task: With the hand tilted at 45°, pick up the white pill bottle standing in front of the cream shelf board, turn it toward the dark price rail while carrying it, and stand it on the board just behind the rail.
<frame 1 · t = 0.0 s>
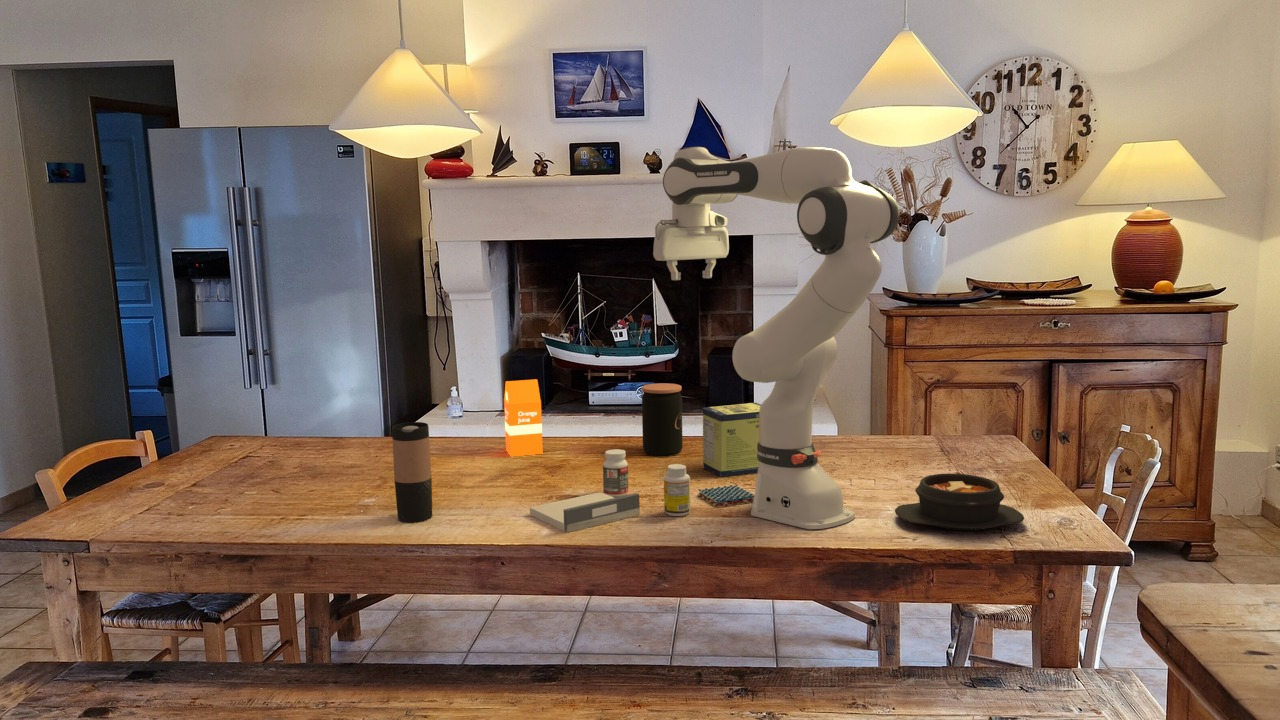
hand: (691, 279, 217), 48 cm above the table, tool pointing down, fingers open, 8 cm apart
orange juice: (524, 453, 253), on the table
coffee jar: (662, 453, 250), on the table
travel mug: (415, 518, 198), on the table
shelf: (584, 514, 198), on the table
woven mat: (727, 501, 207), on the table
supplement bottle: (677, 513, 198), on the table
casserole: (958, 523, 188), on the table
pill bottle: (616, 494, 213), on the table
protein box: (739, 470, 232), on the table
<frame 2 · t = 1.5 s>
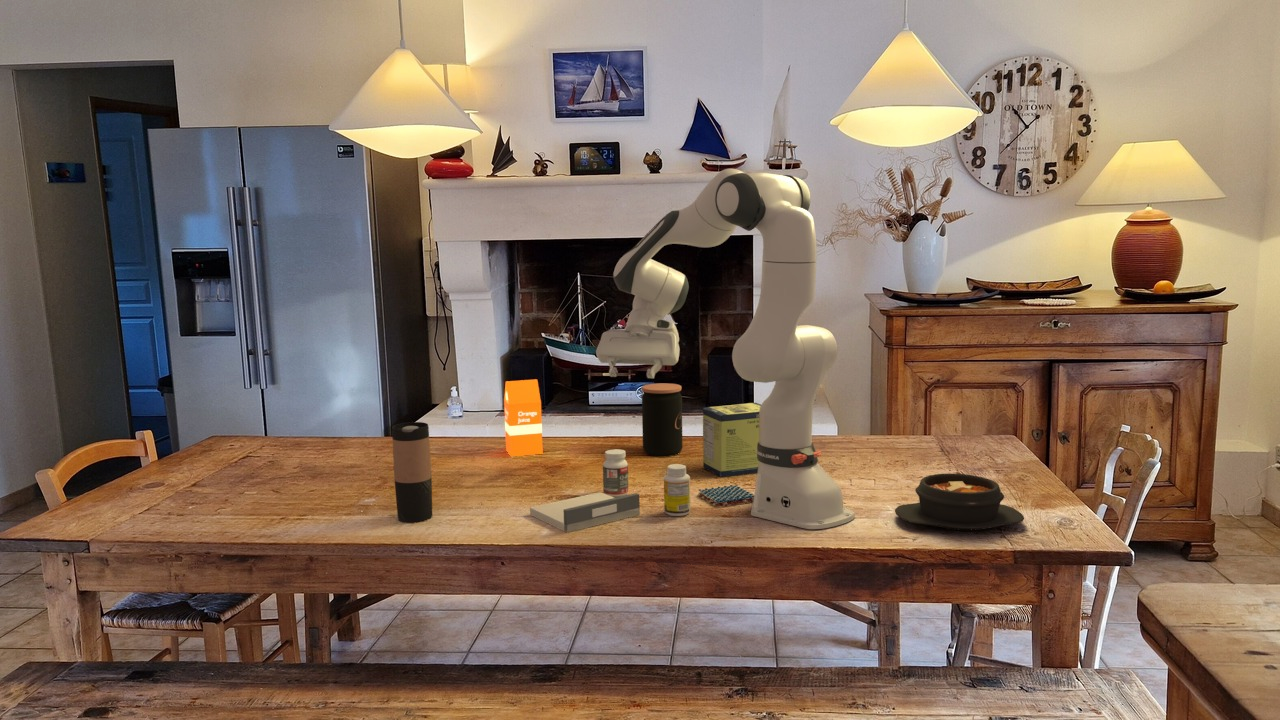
hand: (631, 376, 220), 25 cm above the table, tool tilted 45°, fingers open, 8 cm apart
nothing on the table moved.
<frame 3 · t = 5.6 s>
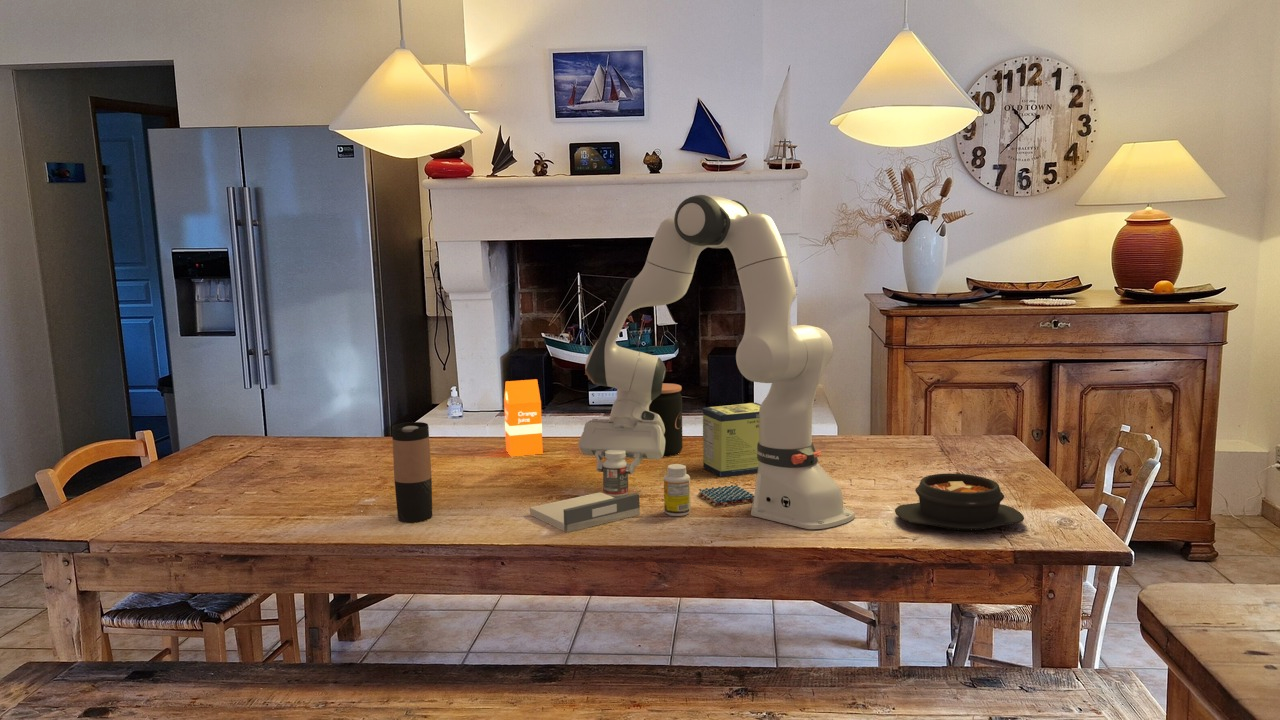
hand: (614, 471, 211), 5 cm above the table, tool tilted 45°, fingers closed on pill bottle, 6 cm apart
pill bottle: (616, 494, 213), on the table, touching gripper
everything else where it was.
when the fingers open (8 cm above the table, at t = 10.5 s): pill bottle stays where it is, resting on shelf.
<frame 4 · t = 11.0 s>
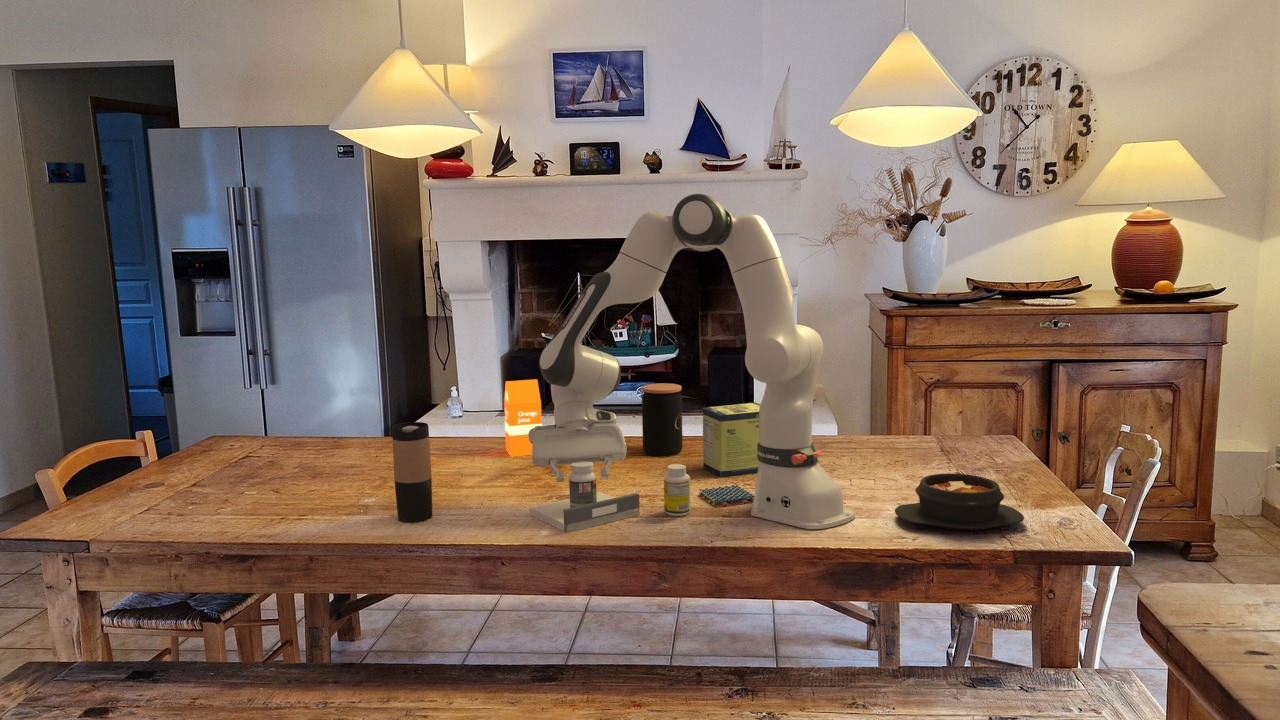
hand: (582, 479, 194), 8 cm above the table, tool tilted 45°, fingers open, 8 cm apart
pill bottle: (583, 510, 196), point 1 cm above the table, touching shelf
everything else where it was.
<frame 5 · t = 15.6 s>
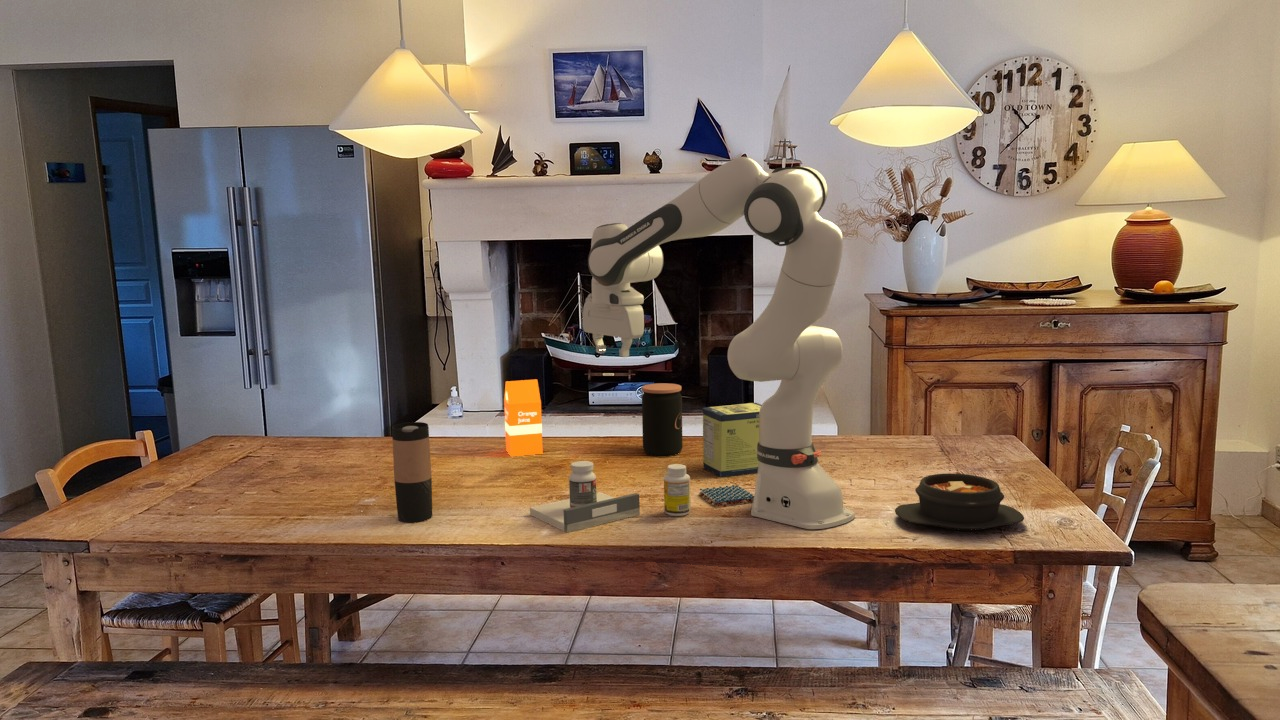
hand: (612, 354, 215), 31 cm above the table, tool pointing down, fingers open, 8 cm apart
nothing on the table moved.
at the end: pill bottle inside the target area (0.3 cm from its centre), point 1.4 cm above the table; pill bottle tilted 0°; the gripper is holding nothing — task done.
